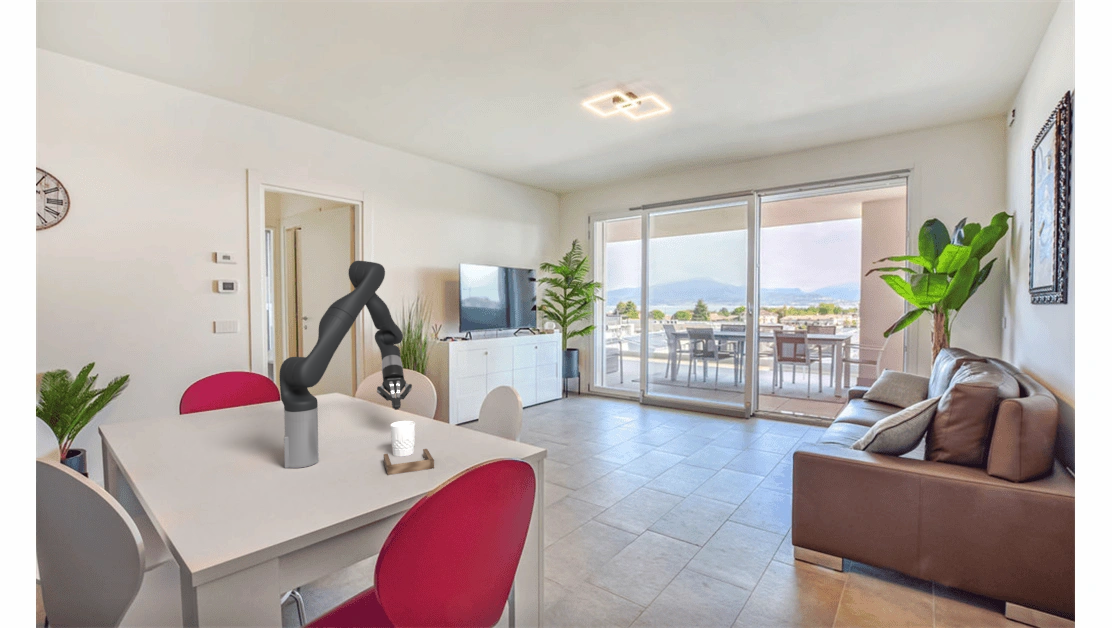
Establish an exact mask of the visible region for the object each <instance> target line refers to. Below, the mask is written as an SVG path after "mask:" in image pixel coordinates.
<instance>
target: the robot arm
mask: <svg viewBox="0 0 1112 628" xmlns="http://www.w3.org/2000/svg"><path fill="white" fill-rule="evenodd" d="M349 265H350V266H349V268H348V278H349V280H350V282H351V285H352V287H353V288H354V289H353V290H352V291H350V292H349V293H347V294H345V295H344V296H342V297H341V298H338V299H337V300H335V301H334V302H332V304H330V305H329V307H328V308H327V310H326V311H324V314H323V316H322V317H321V318H320V321H319V324H318V332H317V333H318V337H317V342H316V343H315V345H314V347H313V349H312V350H311V351H310V352H309V354H308V355H307V356H290V357H288V358H286V359H285V360H284V361H283V362H282V364H281V365H280V369H279V376H278V377H279V388H280V389H279V390H280V399H281V402H282V404H283V407H284V408H283V411H284V412H283V413H284V415H283V416H284V417H283V418H284V437H283V443H284V444H283V445H284V446H283V449H284V451H283V452H284V454H283V455H284V469H288V468H291V469H297V468H305V467H309V466H313V465H316V464H317V463H318V462H319V459H320V458H319V415H318V413H319V412H318V411H319V410H318V409H319V408H318V406H319V405H318V399H317V397H316V396H314V395H313V394H312V393H311V392H310V391H309V390H308V388H313V387H315V386H316V385H317V384H318V383H319V382H320V381H321V379H322V378H323V376H324V374H325V372H326V371H327V369H328V367H329V364H330V362H331V360H332V359H333V357H334V354H335V353H336V352H337V350H338V348H339V346H340V344H341V343H342V341H343V340H344V338H345V337H346V335H347V334H348V332H349V331H350V329H351V328H352V326H353V325H354V323H355V321H356V319H357V317H358V316H359V315H360V313H361V312H362V310H363V309H364V307H366V308H367V310H368V312H369V315H370V318H371V319H372V320H371V321H372V323H373V326H374V327H375V329H376V332H375V333H374V334H375V335H374V340H375V343H376V344H377V347H378V349H379V351H380V357H381V373H382V374H381V375H382V383H381V385H380V386H379V385H378V386H377V388H376V393H378V394H379V395H380V396H381V397H382V398H383V399H385V400H386V402H387V401H388V402H389V401H391V407H392V409H393V410H395V411H397V410H400V408H401V405H402V403H401V401H402V400H405V398H406V397H407V396H408V395H409V393H410V392H411V391H412V389H413V388H412V387H413V384H412V383H409V384H408V383H407V381H406V380H405V375H404V369H403V368H404V366H403V363H402V358H401V351H400V350H401V349H400V347H399V346H398V345H397V344H400V343H402V341H403V338H404V335H403V332H402V330H401V328H400V327H399V326H398V325H397V323H395V321H394V320H393V317H392V315H391V311H390V309H389V306H388V305H387V304H386V302H385V301H384V300H383V299H382V298H381V297H380V296H379V295H378V294H377V290H378V289H379V288H380V287H381V286H382V285H383V282H384V280H385V275H386V271H385V269H386V268H385V267H384V266H383V265H382V264H381V263H378V262H374V261H373V262H372V261H366V260H355V261H353V262H352V263H350V264H349ZM402 391H403V392H402ZM401 392H402V393H401Z"/></svg>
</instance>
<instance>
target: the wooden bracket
mask: <svg viewBox="0 0 1112 628" xmlns="http://www.w3.org/2000/svg"><path fill="white" fill-rule="evenodd" d="M422 455H423V456H422V457H423V459H424V458H425V459H424V460H417V461H416V460H415V461H409V462H400V463H394V464H392V463H391V460H390V455H389V454H388V453H384V454H383V464H384V467H385V470H386V475H387V476H388V475H389V476H390V475H396V474H404V473H409V472H410V473H411V472H417V471H423V470H424V471H425V469H426V470H430V469H432V468H433V469H435V460H434V457H433V456H432V455H431V453H430V451H429V450H428V448H423V449H422Z"/></svg>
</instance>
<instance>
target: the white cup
mask: <svg viewBox="0 0 1112 628" xmlns="http://www.w3.org/2000/svg"><path fill="white" fill-rule="evenodd" d="M415 437H416V422H415V421H412V420H399V421H394V422H392V423H390V438H391V447H392V450H391V451H392V456H394V457H399V458H400V457H408V456H411V454H412V455H413V454H414V453H415V440H416V438H415Z"/></svg>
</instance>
